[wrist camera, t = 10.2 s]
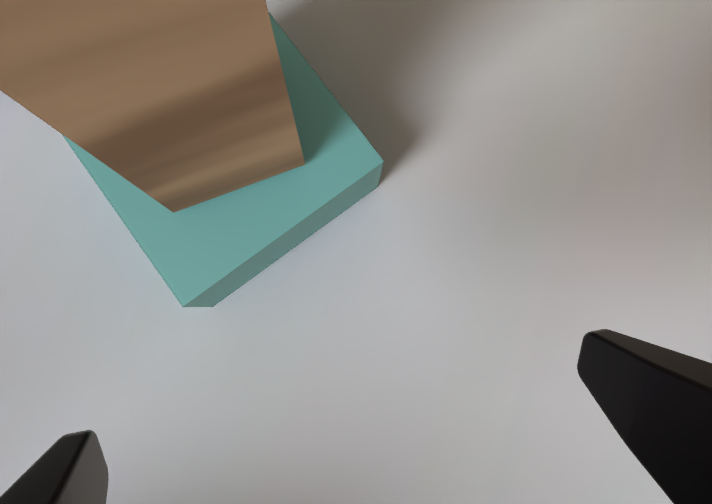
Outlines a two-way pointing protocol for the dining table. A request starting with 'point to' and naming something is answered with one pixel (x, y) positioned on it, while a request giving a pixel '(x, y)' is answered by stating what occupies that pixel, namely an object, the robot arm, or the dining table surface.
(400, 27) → the dining table surface
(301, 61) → the teal base block
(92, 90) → the walnut block
